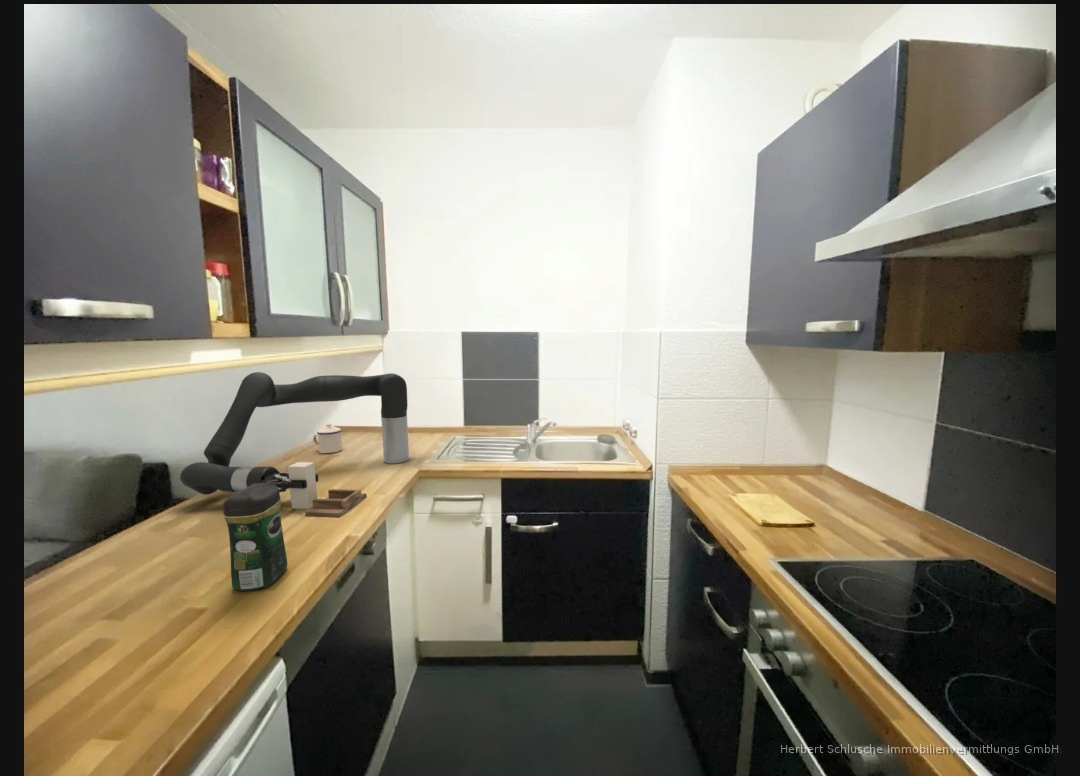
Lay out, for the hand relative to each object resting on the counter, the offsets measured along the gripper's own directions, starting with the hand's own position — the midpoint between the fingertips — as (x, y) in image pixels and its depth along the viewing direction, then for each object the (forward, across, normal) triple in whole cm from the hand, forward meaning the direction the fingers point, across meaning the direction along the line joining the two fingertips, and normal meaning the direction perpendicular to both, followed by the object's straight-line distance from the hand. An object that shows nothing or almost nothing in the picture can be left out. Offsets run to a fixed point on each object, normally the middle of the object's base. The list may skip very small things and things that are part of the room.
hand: (311, 481), depth 118 cm
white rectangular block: (-3, 0, +7) cm, 8 cm away
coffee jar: (+12, -35, +7) cm, 38 cm away
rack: (+7, 0, +7) cm, 10 cm away
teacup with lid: (-31, +55, +7) cm, 63 cm away
